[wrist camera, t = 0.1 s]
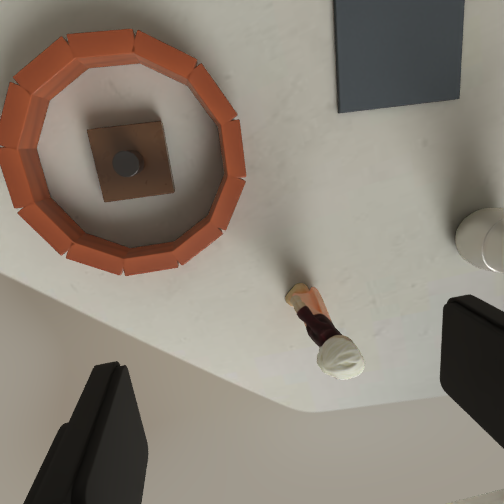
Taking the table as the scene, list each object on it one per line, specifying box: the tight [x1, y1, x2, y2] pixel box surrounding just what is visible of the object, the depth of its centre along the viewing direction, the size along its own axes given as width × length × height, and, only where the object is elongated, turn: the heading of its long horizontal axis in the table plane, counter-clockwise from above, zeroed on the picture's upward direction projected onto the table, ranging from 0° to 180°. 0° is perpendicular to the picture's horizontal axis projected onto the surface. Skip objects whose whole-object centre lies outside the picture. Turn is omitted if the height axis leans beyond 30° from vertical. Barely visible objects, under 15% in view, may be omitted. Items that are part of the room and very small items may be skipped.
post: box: [87, 121, 175, 202], centre depth 29 cm, size 6×6×4 cm
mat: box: [334, 0, 465, 113], centre depth 31 cm, size 14×12×1 cm
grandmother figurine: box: [285, 283, 365, 380], centre depth 32 cm, size 8×4×13 cm, turn 50°
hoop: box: [0, 29, 246, 276], centre depth 30 cm, size 19×19×3 cm
